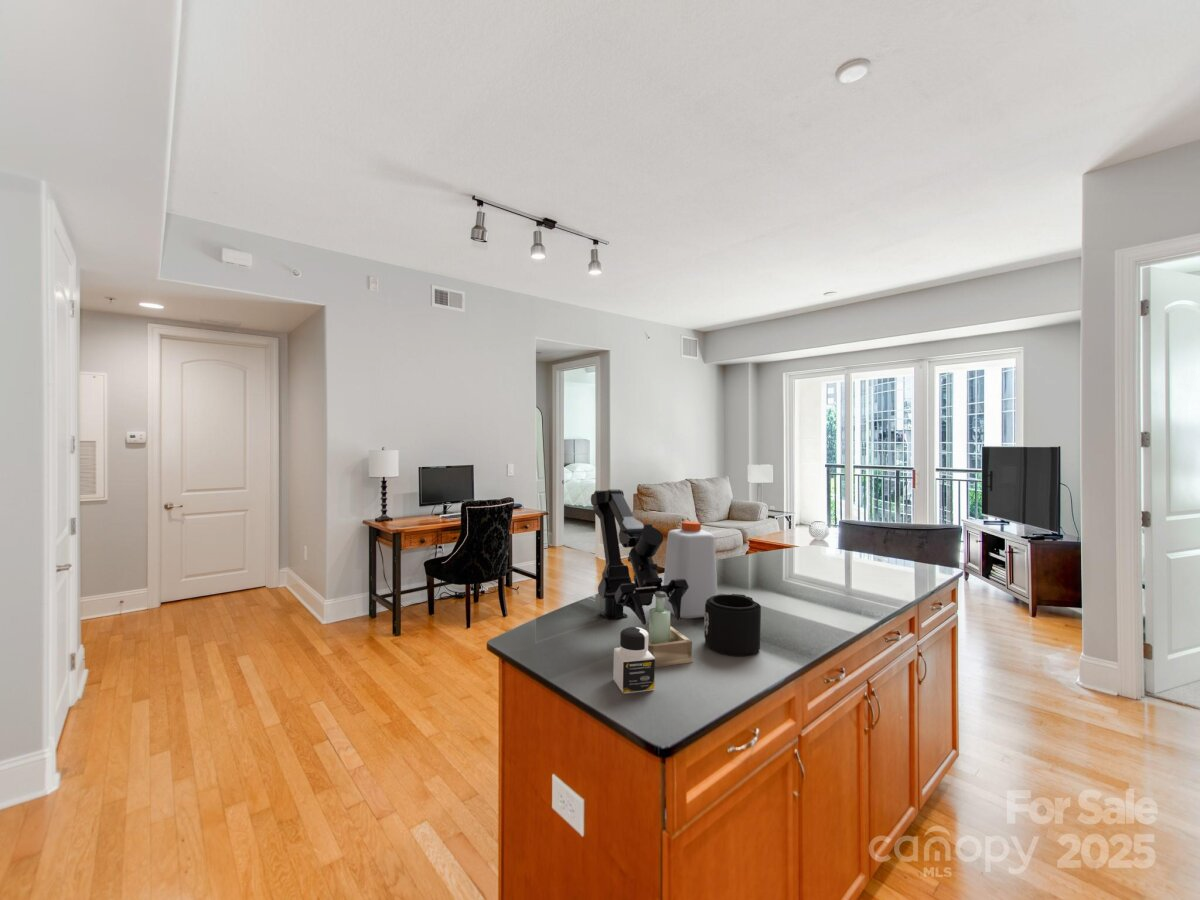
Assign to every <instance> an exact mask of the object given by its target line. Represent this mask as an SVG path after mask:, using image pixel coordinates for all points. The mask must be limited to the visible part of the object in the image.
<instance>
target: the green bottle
mask: <svg viewBox="0 0 1200 900" xmlns="http://www.w3.org/2000/svg"><path fill="white" fill-rule="evenodd" d="M665 596H666V593H665V592H662V591H657V592H655V594H654V597H655V607H652V608H650V609H649V612H648V613H649V614H648V616H649V621H648V642H649V643H650V644H659V643H667V642H670V626H671V611H670V610H669V609H666V608H665Z"/></svg>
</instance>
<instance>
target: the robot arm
mask: <svg viewBox="0 0 1200 900" xmlns="http://www.w3.org/2000/svg"><path fill="white" fill-rule="evenodd" d="M624 495H625V494H624V491H623V490H621V489H617V488H615V489H613V488H612V489H607V490H595V491H594V492H593V493H592V494H591V496H590V502H591V505H592V508H593V512H594V514H595V515H596V516H597V518H598V519H599V522H600V528H601V537H602V544H603V550H604V551H603V552H604V559H605V566H604V568H603V571H602V573H601V579H600V582H599V584H598V586H597V591H598V592H597V593H598V596H600V597H601V598H602V599H604V600H603V601H604V602H603V604H604V606H603V607H604V608H603V611H599V614H600V615H601V616H603V617H604V618H606V619H607V620H615V619H622V618H628V614H627V613H625V612H624V607H627V608H629V609H630V610H631V611H632V612H633V613H634V614H635V615H636V617H637V618H638V620H639V621H640V622H641V624H642V625H643V626H646V624H647V620H646V615H645V610H644V608H643V606H647V607H648V606H650V605H652V604H653V598H654V596H655V592H657V591H662V592H665V593H666V594H667V597H669V600H668V601H669V602H670V603H671V605H672V608H673V611H674V615H675V616H674V615H673V616H674V617H675V619H676V621H677V622H680V620H681V618H680V610H681V598H682V596H683V595H684V593H685V592H686V591H687V589H688V588H689V586H688V583H687V581H686V580H685V579H672V580H671V581H670V583H669V585H664V584H663V585H662V583H663V577H660V576H659V574H658V572H657V571H658V570H657V569H658V567H659V566H658V564H657V563H654V559H653V556H655V555H656V554H657V552H658V550H659V549H660V547H661V545H662V544H663V541H664V535H663V533H662V531H660V530H659V529H657V528H655V527H653V524H652V523H648V524H646V523H645V524H643V522H642V521H640V520H639V519H636V518H635V517H634V514H633V513H632V510H631V508H630V506H629V504H628V503H627V501H626V499H625V497H624ZM616 523H617V524H618V526H619V532H618V529H617V524H616ZM619 543H620V544H621V546H622V547H623V548H629V549H630V551H629V553H628V556H627V561H628V562H630V563H631V566H632V569H633V574H634V575H633V581H634V582H633V581H632V578H631V575H630V570H629V566H628V565H626V564H624V563H623V561H622V556H621V551H620V549H621V548H620V545H619Z"/></svg>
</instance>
